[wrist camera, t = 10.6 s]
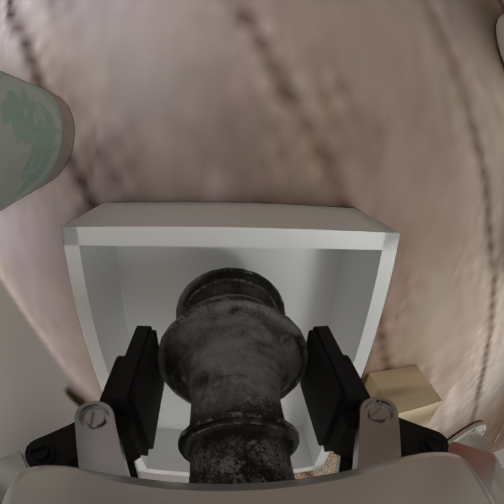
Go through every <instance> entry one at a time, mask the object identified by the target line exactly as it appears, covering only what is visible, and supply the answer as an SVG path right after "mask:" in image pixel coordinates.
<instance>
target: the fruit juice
mask: <svg viewBox="0 0 504 504" xmlns="http://www.w3.org/2000/svg"><path fill="white" fill-rule="evenodd" d="M496 36H497V42H498V47H499V50H500V54H501V57H502V60H503V63H504V14H502V15H501V16H500V17H499V18H498V20H497V23H496Z"/></svg>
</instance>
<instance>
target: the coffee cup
mask: <svg viewBox="0 0 504 504" xmlns="http://www.w3.org/2000/svg"><path fill="white" fill-rule="evenodd" d="M73 142H74V122H73V117H72V114H71V112H70V109H69V107H68V106H67V104H66V103H65V102H64V101H63V100H62V99H61V98H60V97H58V96H56V95H54V94H52V93H50V92H48V91H46V90H44V89H41V88H39V87H37V86H35V85H32V84H30V83H28V82H26V81H23V80H21V79H19V78H16V77H14V76H12V75H9V74H7V73H5V72H2V71H0V211H2V210H3V209H5V208H6V207H8V206H9V205H11V204H13V203H14V202H16V201H18V200H19V199H21V198H23V197H24V196H26V195H28V194H29V193H31V192H33V191H35V190H36V189H38V188H40V187H41V186H43V185H45V184H47V183H49V182H50V181H52V180H53V179H54V178H56V177H57V176H58V175H59V173H60V172H61V171H62V170H63V168H64V167H65V165H66V163H67V161H68V159H69V157H70V154H71V151H72V147H73Z"/></svg>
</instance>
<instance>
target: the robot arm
mask: <svg viewBox="0 0 504 504" xmlns="http://www.w3.org/2000/svg"><path fill="white" fill-rule="evenodd" d="M307 345H308V363H307V367H306V371H305V374H304V375H303V377H302V379H301V380H300V386H301V389H302V393H303V396H304V399H305V403H306V406H307V409H308V413H309V416H310V419H311V422H312V426H313V429H314V432H315V436H316V439H317V442H318V445H319V446H322V445H323V448H324V451H325V452H329V451H333V452H334V453H335V454H337V455H338V458H337V466H336V473H333V474H328V475H322V476H316V477H310V478H302V479H295V480H286V481H276V482H264V483H246V484H197V483H179V482H167V481H157V480H149V479H141V478H140V475H139V471H138V468H137V465H136V460H137V459H139V458H141V455H143V456H148V451H149V449H153V448H154V442H155V436H156V430H157V424H158V418H159V412H160V406H161V401H162V395H163V390H164V379H163V377H162V375H161V373H160V371H159V366H158V359H157V352H158V348H159V344H158V338H157V331H156V330H152V327H151V326H140V325H138V326H137V327H136V329H135V332H134V334H133V336H132V339H131V341H130V344H129V346H128V349H127V352H126V354H125V356H120V355H119V356H117V358H116V360H115V362H114V365H113V367H112V370H111V372H110V375H109V377H108V380H107V382H106V385H105V387H104V390H103V393H102V395H101V398H100V401H91V402H87V403H85V404H83V405H81V406H80V407H79V408H78V409H77V411H76V413H75V422H74V423H72V424H70V425H68V426H66V427H63V428H61V429H59V430H57V431H55V432H52V433H50V434H48V435H45V436H43V437H41V438H38V439H36V440H34V441H32V442H31V443H30V444H29V445H28V446H27V448H26V450H25V453H21V452H20V451H18V452H16V453H13V454H11V455H8V456H5V457H2V458H0V504H504V468H503V467H502V465H501V463H500V462H499V460H498V459H497V457H496V456H495V454H494V453H493V451H492V450H491V448H490V447H489V445H488V444H487V442H486V441H485V439H484V438H483V436H482V435H483V434H484V432H485V430H486V425H485V423H484V422H483V421H480V422H476V423H474V424H472V425H470V426H468V427H466V428H465V429H463V430H462V431H460V432H459V433H457V434H456V435H455V436H453V437H452V438H451V439H449V440H448V441H447V439H446V438H445V436H444V435H442V434H441V433H439V432H437V431H434V430H431V429H429V428H426V427H423V426H420V425H418V424H415V423H412V422H410V421H407V420H405V419H402V418H399V415H398V410H397V407H396V406H395V404H394V403H392V402H391V401H390V400H388V399H385V398H382V397H372V398H371V397H370V395H369V393H368V391H367V389H366V387H365V386H364V384H363V382H362V380H361V378H360V376H359V374H358V372H357V370H356V369H355V367H354V365H353V363H352V361H351V359H350V358H349V356H348V355H343V353H342V351H341V349H340V347H339V346H338V344H337V342H336V340H335V338H334V336H333V334H332V332H331V330H330V329H329V327H328V326H314V327H313V330H309V332H308V337H307Z"/></svg>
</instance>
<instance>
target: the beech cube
mask: <svg viewBox="0 0 504 504" xmlns="http://www.w3.org/2000/svg"><path fill="white" fill-rule="evenodd" d="M365 387H366V389H367V391H368V393H369V395H370V397H371V398H372V397H382V398H385V399H388V400H390V401H391V402H392V403H394V404H395V406H396V407H397V410H398V415H399V418H402V419H405V420H407V421H410V422H412V423H415V424H418V425H420V426H423V427H426V425H427V424H428V422H429V421H430V419H431V418H432V416H433V415H434V413H435V412H436V410H437V408H438V407H439V405H440V404H441V402H442V400H441V398H440V397H439V395H438V394H437V393H436V391H435V390H434V388H433V387H432V386H431V384H430V383H429V381H428V380H427V379H426V377H425V376H424V375H423V373H422V372H421V371H420V369H419V368H418V367H417V365H412V366H407V367H402V368H396V369H391V370H385V371H379V372H372V373H369V376H368V378H367V381H366V383H365Z"/></svg>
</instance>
